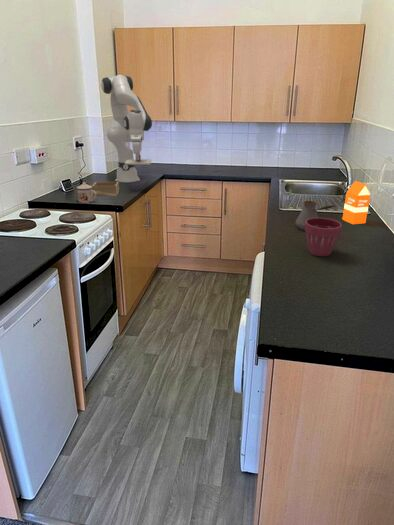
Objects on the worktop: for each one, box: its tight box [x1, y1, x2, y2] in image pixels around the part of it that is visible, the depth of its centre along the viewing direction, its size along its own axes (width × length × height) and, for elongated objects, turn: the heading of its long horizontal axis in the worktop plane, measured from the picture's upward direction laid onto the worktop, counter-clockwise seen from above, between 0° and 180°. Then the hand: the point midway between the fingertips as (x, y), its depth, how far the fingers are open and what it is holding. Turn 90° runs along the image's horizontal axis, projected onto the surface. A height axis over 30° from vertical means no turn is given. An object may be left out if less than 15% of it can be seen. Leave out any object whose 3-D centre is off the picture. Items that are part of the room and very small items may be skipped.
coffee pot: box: [295, 200, 337, 231], centre depth 183 cm, size 21×12×15 cm, turn 27°
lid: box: [125, 154, 152, 165], centre depth 254 cm, size 14×16×5 cm
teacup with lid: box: [76, 182, 97, 204], centre depth 233 cm, size 12×9×12 cm
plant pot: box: [304, 217, 343, 257], centre depth 158 cm, size 14×14×13 cm
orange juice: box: [341, 180, 371, 225], centre depth 197 cm, size 8×9×20 cm
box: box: [91, 181, 120, 197], centre depth 252 cm, size 13×15×7 cm
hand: (138, 159), depth 254 cm, fingers closed on lid, 3 cm apart
